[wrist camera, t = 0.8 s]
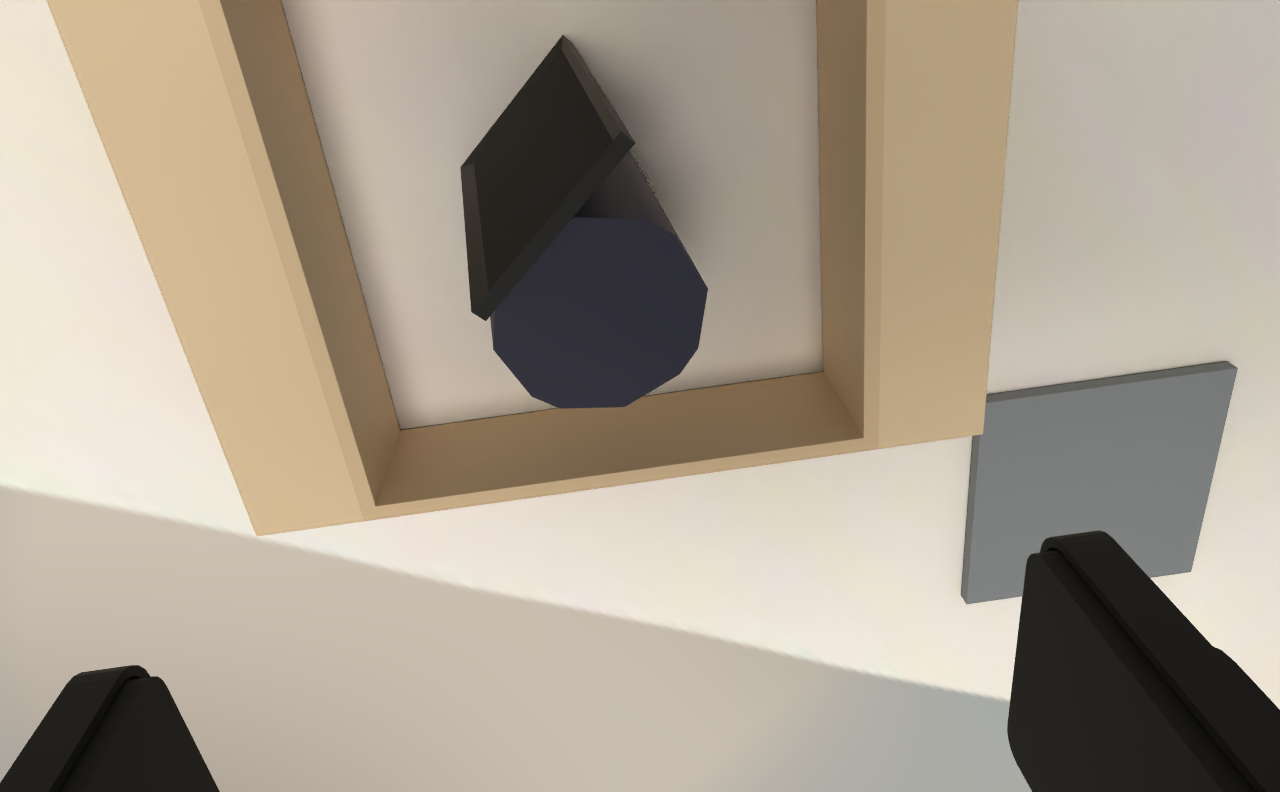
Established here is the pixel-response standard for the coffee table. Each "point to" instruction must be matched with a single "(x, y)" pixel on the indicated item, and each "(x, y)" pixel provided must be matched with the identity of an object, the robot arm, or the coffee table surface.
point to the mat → (1094, 471)
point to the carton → (557, 438)
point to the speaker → (575, 248)
